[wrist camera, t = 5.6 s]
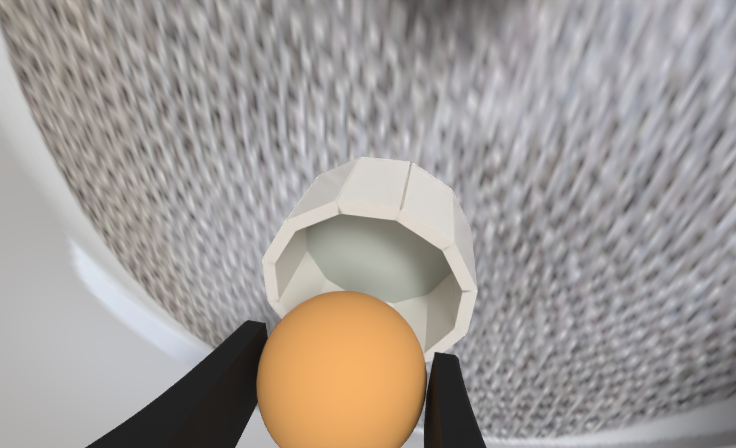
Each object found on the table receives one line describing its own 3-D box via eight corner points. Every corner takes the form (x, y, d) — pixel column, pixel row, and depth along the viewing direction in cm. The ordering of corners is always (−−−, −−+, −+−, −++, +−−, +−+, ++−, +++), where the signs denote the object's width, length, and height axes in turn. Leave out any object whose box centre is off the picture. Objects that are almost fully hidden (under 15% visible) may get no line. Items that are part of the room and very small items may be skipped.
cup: (485, 169, 15) (495, 219, 12) (453, 314, 19) (454, 381, 16) (293, 149, 16) (252, 189, 13) (303, 291, 20) (274, 349, 17)
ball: (439, 270, 12) (435, 422, 8) (421, 372, 14) (411, 528, 10) (287, 249, 12) (204, 378, 8) (297, 351, 15) (238, 488, 11)
